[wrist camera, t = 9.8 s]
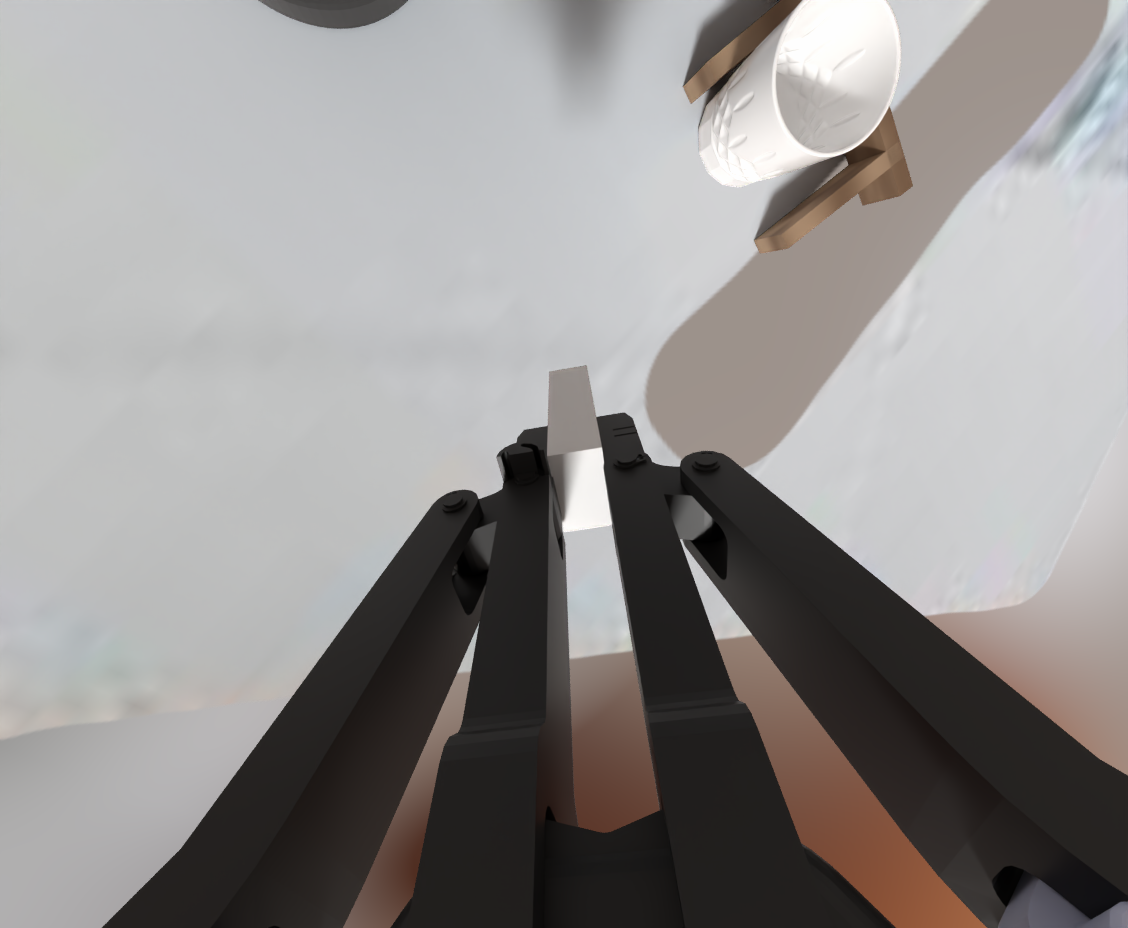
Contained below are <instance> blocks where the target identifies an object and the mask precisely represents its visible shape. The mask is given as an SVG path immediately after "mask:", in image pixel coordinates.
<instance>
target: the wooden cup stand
mask: <svg viewBox="0 0 1128 928" xmlns="http://www.w3.org/2000/svg"><path fill="white" fill-rule="evenodd" d="M801 1H802V0H781V1H779V2H778V3H777V4H776V5H775V6H773V7H772V8H771V9H770V10H769V11H768V12H766V13H765V14H764V15H763V16H762V17H760V18H759V19H758V20H757V21H756V22H754V23H753V24H752V25H751V26H750V27H748V28H747V29H746V30H745V31H744V32H742V33H741V34H740V35H739V36H738V37H736V38H735V39H734V40H733V41H732V42H730V43H729V44H728V45H727V46H726V47H724V48H723V49H722V50H721V51H720V52H718V53H717V54H716V55H715V56H714V57H712V58H711V59H710V60H709V61H708V62H707V63H706V64H705V65H704V66H703V67H702V68H701V69H700V70H699V71H698V72H697V73H696V74H695V75H694V76H693V77H692V78H691V79H690V80H689V81H688V82H687V83H686V84H685V85H684V86H683V88H684V90H685V92H686V94H687V96H688V99H689V101H690V103H691V104H692V103H693V102H694V101H695V100H696V99H698V98H699V97H700V96H701V95H702V94H704V93H705V92H706V91H707V90H708V89H710V88H711V87H712V86H713V85H714V84H716V83H717V82H718V81H719V80H720V79H722V78H723V77H724V76H725V75H726V74H728V73H729V72H730V71H731V70H733V69H734V68H735V67H736V66H737V65H739V64H740V63H741V62H742V61H743V60H745V59H746V58H747V57H748V56H749V55H751V53H752V52H753V51H754V50H755V49H756V48H757V47H758V45H759V44H760V43H761V42H762V41H763V40H764V39H765V38H766V37H767V36H768V35H769V34H770V33H771V32H772V31H773V30H774V29H775V28H776V27H777V26H778V25H779V24H780V23H781V22H782V21H783V20H784V19H785V18H786V17H787V16H788V15H789V14H790V13H791V12H792V10H793V9H794V8H795V7H796V6H797V5H798V4H799V3H800V2H801ZM845 156H846V159H847V162H848V166H847V167H846V168H845V169H843V170H842V171H841V172H840V173H838V174H837V175H836V176H835V177H833V178H832V179H831V180H829V181H828V182H827V183H826V184H824V185H823V186H822V187H821V188H819V189H818V190H817V191H816V192H814V193H813V194H812V195H811V196H809V197H808V198H807V199H806V200H804V201H803V202H802V203H801V204H799V205H798V206H797V207H796V208H794V209H793V210H792V211H791V212H789V213H788V214H787V215H786V216H784V217H783V218H782V219H781V220H779V221H778V222H777V223H775V224H774V225H773V226H772V227H770V228H769V229H768V230H767V231H765V232H764V233H763V234H762V235H760V236H759V237H758V238H757V239H755V240H754V241H755V244H756V246H757V248H758V250H759V252H760V253H766V252H772V251H777V250H783V249H787V248H789V247H791V246H792V245H793V244H794V243H796V242H797V241H798V240H799V239H801V238H802V237H803V236H804V235H806V234H807V233H808V232H810V231H811V230H812V229H813V228H815V227H816V226H817V225H818V224H820V223H821V222H822V221H823V220H825V219H826V218H827V217H828V216H830V215H831V214H832V213H834V212H835V211H836V210H837V209H839V208H840V207H841V206H842V205H844V204H845V203H846V202H847V201H849V200H850V199H851V198H853V197H854V196H855V195H856V194H857V193H858V194H859V196H860V199H861V202H862V205H866V204H871V203H874V202H878V201H882V200H886V199H890V198H894V197H898V196H901V195H902V194H903V193H904V192H906V191H907V190H908V189H910V188H911V187H912V186H913V184H912V181H911V177H910V174H909V171H908V168H907V164H906V160H905V157H904V153H903V150H902V147H901V143H900V140H899V136H898V133H897V130H896V126H895V123H894V119H893V116H892V112H891V109H890V106H889V108H888V110H887V112H886V114H885V115H884V117H883V119H882V120H881V122H880V123H879V125H878V126H877V127H876V129H875V130H874V131H873V132H872V133H871V135H870V136H869V137H868V138H867V139H866V140H864V141H863V142H862V143H861V144H860V145H858V146H857V147H855V148H854V149H852V150H850V151H848V152H846V153H845Z"/></svg>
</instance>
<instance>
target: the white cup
mask: <svg viewBox="0 0 1128 928" xmlns="http://www.w3.org/2000/svg"><path fill="white" fill-rule="evenodd" d="M900 65H901V40H900V33H899V28H898V24H897V20H896V17H895V15H894V12H893V10H892V8H891V6H890V4H889V3H888V1H887V0H802V1H801V2H800V3H799V4H798V5H797V6H796V7H795V8H794V9H793V10H792V12H791V13H790V14H789V15H788V16H787V17H786V18H785V19H784V20H783V21H782V22H781V23H780V24H779V25H778V26H777V27H776V28H775V29H774V30H773V31H772V32H771V33H770V34H769V35H768V36H767V37H766V38H765V39H764V40H763V41H762V42H761V43H760V44H759V45H758V47H757V48H756V49H755V50H754V51H753V52H752V53H751V55H750V56H749V57H748V58H747V59H746V60H745V61H744V62H743V63H742V64H741V65H740V67H739V68H738V69H737V70H736V71H735V72H734V73H733V74H732V75H731V76H730V78H729V80H728V82H727V83H726V84H725V85H724V86H723V87H722V88H721V89H720V90H719V91H718V93H717V94H716V95H715V96H714V97H713V98H712V100H711V101H710V102H709V103H708V104H707V106H706V108H705V111H704V114H703V117H702V120H701V123H700V126H699V154H700V156H701V159H702V161H703V163H704V165H705V168H706V170H707V172H708V173H709V174H710V175H711V176H712V177H713V178H714V179H716V180H717V181H718V182H719V183H720V184H722V185H726V186H733V187H743V186H745V185H748V184H751V183H753V182H756V181H760V180H767V179H770V178H774V177H777V176H780V175H783V174H786V173H790V172H793V171H796V170H799V169H801V168H804V167H807V166H810V165H812V164H815V163H818V162H821V161H824V160H827V159H830V158H832V157H835V156H838V155H841V154H844V153H846V152H848V151H850V150H852V149H854V148H855V147H857V146H858V145H860V144H861V143H862V142H863V141H864V140H866V139H867V138H868V137H869V136H870V135H871V133H872V132H873V131H874V130H875V129H876V127H877V126H878V125H879V123H880V122H881V120H882V119H883V117H884V115H885V114H886V112H887V110H888V108H889V106H890V103H891V101H892V98H893V96H894V93H895V90H896V86H897V83H898V78H899V73H900Z"/></svg>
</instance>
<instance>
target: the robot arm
mask: <svg viewBox="0 0 1128 928" xmlns="http://www.w3.org/2000/svg"><path fill="white" fill-rule="evenodd" d="M259 1H261V2H262V3H264V4H265V5H267V6H269V7H270V8H272V9H274V10H275V11H277V12H279V13H281V14H283V15H285V16H288V17H290V18H292V19H295V20H297V21H300V22H303V23H307V24H310V25H314V26H319V27H325V28H337V29H342V28H355V27H360V26H365V25H368V24H372V23H375V22H377V21H379V20H381V19H384V18H385V17H387V16H389V15H391V14H392V13H394V12H395V11H396V10H398V9H399V8H400V7H401V6H403V5H404V4H405V3H406V2H407V1H408V0H259ZM496 458H497V461H498V464H499V468H500V471H501V474H502V478H503V481H504V483H503V489H502V490H500V491H498V492H497V493H494V494H492V495H490V496H487V497H484V498H481V499H478V497H477V494H476V493H474V492H473V491H470V490H458V491H453V492H450V493H447V494H446V495H444V496H442V497H441V498H439V499H438V500H437V501H436V502H435V503H434V504H433V505H432V506H431V508H430V509H429V510H428V512H427V513H426V515H425V516H424V517H423V519H422V520H421V521H420V523H419V524H418V525H417V527H416V528H415V530H414V531H413V532H412V534H411V535H410V536H409V538H408V539H407V540H406V542H405V543H404V545H403V546H402V547H401V549H400V550H399V551H398V553H397V554H396V556H395V557H394V558H393V560H392V561H391V562H390V564H389V565H388V566H387V568H386V569H385V571H384V572H383V573H382V575H381V576H380V577H379V579H378V580H377V581H376V583H375V584H374V586H373V587H372V588H371V590H370V591H369V592H368V594H367V595H366V597H365V598H364V599H363V601H362V602H361V603H360V605H359V606H358V607H357V609H356V610H355V612H354V613H353V614H352V616H351V617H350V618H349V620H348V621H347V622H346V624H345V625H344V627H343V628H342V629H341V631H340V632H339V633H338V635H337V636H336V637H335V639H334V640H333V642H332V643H331V644H330V646H329V647H328V648H327V650H326V651H325V653H324V654H323V655H322V657H321V658H320V659H319V661H318V662H317V663H316V665H315V666H314V668H313V669H312V670H311V672H310V673H309V674H308V676H307V677H306V678H305V680H304V681H303V683H302V684H301V685H300V687H299V688H298V689H297V691H296V692H295V694H294V695H293V696H292V698H291V699H290V701H289V702H288V703H287V704H286V706H285V707H284V709H283V710H282V711H281V713H280V714H279V715H278V717H277V718H276V720H275V721H274V722H273V724H272V725H271V726H270V728H269V729H268V731H267V732H266V733H265V735H264V736H263V737H262V739H261V740H260V741H259V743H258V744H257V745H256V747H255V748H254V750H253V751H252V752H251V754H250V755H249V756H248V758H247V759H246V761H245V762H244V763H243V765H242V766H241V767H240V769H239V770H238V771H237V773H236V775H235V776H234V777H233V778H232V780H231V781H230V782H229V784H228V785H227V787H226V788H225V789H224V791H223V792H222V793H221V795H220V796H219V797H218V799H217V800H216V801H215V803H214V804H213V806H212V807H211V808H210V810H209V811H208V812H207V814H206V815H205V817H204V818H203V819H202V821H201V822H200V823H199V825H198V826H197V827H196V829H195V830H194V832H193V833H192V834H191V836H190V837H189V838H188V840H187V841H186V842H185V844H184V845H183V847H182V848H181V849H180V850H179V851H178V852H177V853H176V854H175V855H174V856H173V857H172V858H171V859H170V860H169V861H168V862H167V863H166V864H165V865H164V866H163V867H162V868H161V869H160V870H159V871H158V872H157V873H156V874H155V875H154V876H153V877H152V878H151V879H150V880H149V881H148V882H147V883H146V884H145V885H144V886H143V887H142V888H141V889H140V890H139V891H138V892H137V893H136V894H135V895H134V896H133V897H132V898H131V899H130V900H129V901H128V902H127V903H126V904H125V905H124V906H123V907H122V908H121V909H120V910H119V911H118V912H117V913H116V914H115V915H114V916H113V917H112V918H111V919H110V920H109V921H108V922H107V923H106V924H105V925H104V926H103V927H102V928H343V926H344V924H345V922H346V920H347V918H348V916H349V914H350V912H351V909H352V908H353V906H354V903H355V901H356V899H357V897H358V895H359V893H360V891H361V889H362V887H363V884H364V882H365V880H366V878H367V876H368V874H369V871H370V869H371V867H372V864H373V862H374V860H375V858H376V855H377V853H378V851H379V849H380V846H381V844H382V842H383V839H384V837H385V835H386V833H387V830H388V828H389V826H390V824H391V821H392V819H393V817H394V814H395V812H396V810H397V807H398V805H399V803H400V801H401V799H402V796H403V794H404V792H405V790H406V787H407V785H408V783H409V780H410V778H411V776H412V774H413V771H414V769H415V767H416V765H417V762H418V760H419V758H420V755H421V753H422V751H423V749H424V746H425V744H426V742H427V740H428V737H429V735H430V733H431V730H432V728H433V726H434V724H435V721H436V719H437V717H438V714H439V712H440V710H441V707H442V705H443V703H444V701H445V699H446V696H447V694H448V692H449V689H450V687H451V685H452V683H453V680H454V678H455V676H456V674H457V671H458V669H459V667H460V665H461V662H462V660H463V658H464V655H465V653H466V651H467V649H468V646H469V644H470V642H471V640H472V637H473V635H474V633H475V630H476V628H477V626H478V624H479V628H478V634H477V640H476V646H475V652H474V658H473V663H472V669H471V675H470V682H469V687H468V693H467V698H466V704H465V710H464V716H463V721H462V725H461V728H460V730H459V732H458V733H456V734H454V735H452V736H450V737H449V738H448V740H447V742H446V744H445V746H444V748H443V752H442V756H441V760H440V763H439V768H438V773H437V778H436V783H435V788H434V793H433V798H432V803H431V808H430V813H429V818H428V824H427V829H426V833H425V839H424V843H423V848H422V853H421V859H420V864H419V869H418V873H417V878H416V883H415V888H414V894H413V897H412V898H411V899H410V901H409V902H408V903H407V905H406V906H405V908H404V909H403V910H402V912H401V913H400V915H399V916H398V918H397V919H396V921H395V922H394V923H393V925H392V926H391V928H895V927H894V925H892V924H891V923H890V922H889V921H888V920H887V919H886V918H885V917H884V916H883V915H882V914H881V913H880V912H879V911H878V910H877V909H876V908H875V907H874V906H873V905H872V904H871V903H870V902H869V901H868V900H867V899H866V898H864V896H863V895H862V894H860V892H858V891H857V890H856V889H855V888H854V887H853V886H852V885H851V884H850V883H849V882H848V881H847V880H846V879H845V878H844V877H843V876H842V875H841V874H840V873H839V872H838V871H836V870H835V869H834V868H833V867H832V866H831V865H830V864H829V863H827V862H826V861H825V860H823V859H822V858H821V857H820V856H818V855H817V854H816V853H815V852H813V851H812V850H811V849H809V848H807V847H806V846H805V845H803V844H801V842H800V839H799V837H798V834H797V831H796V829H795V826H794V824H793V821H792V818H791V816H790V813H789V810H788V808H787V805H786V802H785V800H784V797H783V795H782V792H781V789H780V786H779V784H778V781H777V778H776V776H775V773H774V770H773V768H772V765H771V762H770V760H769V757H768V755H767V752H766V749H765V747H764V744H763V741H762V739H761V736H760V733H759V731H758V728H757V726H756V723H755V721H754V719H753V717H752V714H751V712H750V710H749V709H748V707H747V706H746V704H745V703H743V702H741V701H739V700H738V698H737V697H736V694H735V692H734V690H733V687H732V684H731V681H730V679H729V676H728V673H727V670H726V668H725V665H724V662H723V659H722V656H721V653H720V651H719V648H718V645H717V642H716V640H715V637H714V634H713V631H712V628H711V626H710V623H709V620H708V617H707V614H706V612H705V609H704V606H703V603H702V600H701V598H700V595H699V592H698V589H697V586H696V584H695V581H694V578H693V575H692V572H691V570H690V567H689V564H688V561H687V558H686V556H685V553H684V550H683V547H682V544H681V542H680V539H683V542H684V545H685V547H686V548H687V549H688V551H689V552H690V553H691V555H692V556H693V557H694V559H695V560H696V561H697V563H698V564H699V565H700V566H701V568H702V569H703V570H704V572H705V573H706V574H707V576H708V577H709V578H710V580H711V581H712V582H713V584H714V585H715V586H716V587H717V589H718V590H719V591H720V593H721V594H722V595H723V597H724V598H725V599H726V601H727V602H728V603H729V605H730V606H731V607H732V609H733V610H734V611H735V612H736V614H737V615H738V616H739V618H740V619H741V620H742V622H743V623H744V624H745V626H746V627H747V628H748V630H749V631H750V632H751V633H752V635H753V636H754V637H755V639H756V640H757V641H758V643H759V644H760V645H761V646H762V648H763V649H764V650H765V652H766V653H767V654H768V656H769V657H770V658H771V660H772V661H773V662H774V664H775V665H776V666H777V668H778V669H779V670H780V672H781V673H782V674H783V675H784V677H785V678H786V679H787V681H788V682H789V683H790V685H791V686H792V687H793V689H794V690H795V691H796V693H797V694H798V695H799V696H800V698H801V699H802V700H803V702H804V703H805V704H806V706H807V707H808V708H809V710H810V711H811V712H812V713H813V715H814V716H815V718H816V719H817V720H818V721H819V723H820V724H821V725H822V727H823V728H824V729H825V730H826V732H827V733H828V735H829V736H830V737H831V739H832V740H833V741H834V742H835V744H836V745H837V746H838V748H839V749H840V750H841V752H842V753H843V754H844V756H845V757H846V758H847V760H848V761H849V762H850V764H851V765H852V766H853V767H854V769H855V770H856V771H857V773H858V774H859V775H860V776H861V778H862V779H863V781H864V782H865V783H866V784H867V786H868V787H869V788H870V790H871V791H872V792H873V794H874V795H875V796H876V797H877V799H878V800H879V802H880V803H881V804H882V806H883V807H884V808H885V809H886V811H887V812H888V813H889V815H890V816H891V817H892V819H893V820H894V821H895V822H896V824H897V825H898V826H899V828H900V829H901V830H902V832H903V833H904V834H905V836H906V837H907V838H908V839H909V841H910V842H911V843H912V844H913V845H914V847H915V848H916V849H917V850H918V852H919V853H920V854H921V855H922V856H923V858H924V859H925V860H926V861H927V863H928V864H929V865H930V866H931V867H932V869H933V870H934V871H935V872H936V874H937V875H938V876H939V877H940V878H941V879H942V880H943V881H944V883H945V884H946V885H947V886H948V887H949V888H950V889H951V890H952V891H953V892H954V893H955V894H956V895H957V896H958V898H959V899H960V900H961V901H962V902H963V903H964V904H965V905H966V906H967V907H968V908H969V909H970V910H971V911H972V913H973V914H974V915H975V916H976V917H977V918H978V919H979V920H980V921H981V922H982V923H983V924H984V925H985V926H986V927H987V928H1128V776H1127V775H1126V774H1124V773H1122V772H1121V771H1119V770H1117V769H1116V768H1114V767H1112V766H1110V765H1109V764H1107V763H1105V762H1103V761H1102V760H1100V759H1099V758H1097V757H1096V756H1095V755H1093V754H1092V753H1091V752H1090V751H1089V750H1087V749H1086V748H1085V747H1084V746H1083V745H1081V744H1080V743H1079V742H1078V741H1076V740H1075V739H1074V738H1073V737H1072V736H1070V735H1069V734H1068V733H1067V732H1065V731H1064V730H1063V729H1062V728H1060V727H1059V726H1058V725H1057V724H1055V723H1054V722H1053V721H1052V720H1051V719H1049V718H1048V717H1047V716H1046V715H1044V714H1043V713H1042V712H1041V711H1040V710H1038V709H1037V708H1036V707H1035V706H1033V705H1032V704H1031V703H1030V702H1029V701H1027V700H1026V699H1025V698H1024V697H1022V696H1021V695H1020V694H1019V693H1018V692H1016V691H1015V690H1014V689H1013V688H1011V687H1010V686H1009V685H1008V684H1006V683H1005V682H1004V681H1003V680H1002V679H1000V678H999V677H998V676H996V675H995V674H994V673H993V672H992V671H991V670H989V669H988V668H987V667H986V666H984V665H983V664H982V663H981V662H979V661H978V660H977V659H976V658H975V657H973V656H972V655H971V654H970V653H968V652H967V651H966V650H965V649H964V648H962V647H961V646H960V645H959V644H957V643H956V642H955V641H954V640H952V639H951V638H950V637H949V636H948V635H946V634H945V633H944V632H943V631H941V630H940V629H939V628H938V627H936V626H935V625H934V624H933V623H932V622H930V621H929V620H928V619H927V618H925V617H924V616H923V615H922V614H921V613H919V612H918V611H917V610H916V609H914V608H913V607H912V606H911V605H910V604H908V603H907V602H906V601H905V600H903V599H902V598H901V597H900V596H898V595H897V594H896V593H895V592H894V591H892V590H891V589H890V588H889V587H887V586H886V585H885V584H884V583H883V582H881V581H880V580H879V579H878V578H876V577H875V576H874V575H873V574H871V573H870V572H869V571H868V570H867V569H865V568H864V567H863V566H862V565H860V564H859V563H858V562H857V561H856V560H854V559H853V558H852V557H851V556H849V555H848V554H847V553H846V552H844V551H843V550H842V549H841V548H840V547H838V546H837V545H836V544H835V543H833V542H832V541H831V540H830V539H829V538H827V537H826V536H825V535H824V534H822V533H821V532H820V531H819V530H817V529H816V528H815V527H814V526H813V525H811V524H810V523H809V522H808V521H806V520H805V519H804V518H803V517H802V516H800V515H799V514H798V513H797V512H795V511H794V510H793V509H792V508H790V507H789V506H788V505H787V504H786V503H784V502H783V501H782V500H781V499H779V498H778V497H777V496H776V495H775V494H773V493H772V492H771V491H770V490H768V489H767V488H766V487H765V486H763V485H762V484H761V483H760V482H759V481H757V480H756V479H755V478H754V477H752V476H751V475H750V474H749V473H748V472H746V471H745V470H744V469H743V468H741V467H740V466H739V465H738V464H736V463H735V462H734V461H733V460H731V459H730V458H729V457H727V456H726V455H724V454H722V453H717V452H713V451H701V452H696V453H692V454H690V455H687V456H686V457H685V458H683V459H682V460H681V464H680V467H672V466H662V465H659V464H655V463H653V462H652V461H651V458H650V457H649V456H648V454H646V453H644V450H643V447H642V444H641V441H640V438H639V436H638V433H637V430H636V427H635V424H634V421H633V418H631V417H630V416H629V415H627V414H626V413H618V414H612V415H606V416H600V417H596V413H595V408H594V403H593V397H592V392H591V386H590V381H589V376H588V370H587V365H585V366H580V367H574V368H568V369H562V370H556V371H551V372H549V402H548V426H545V427H539V428H533V429H527V430H524V431H523V432H522V433H521V434H520V436H519V437H518V438H517V443H514V444H511V445H509V446H507V447H505V448H504V449H502V450H501V451H500V452H499V453H498V455H497V457H496ZM562 525H563V530H564V532H569V531H576V530H583V529H590V528H597V527H604V526H610V525H612V528H613V534H614V541H615V548H616V555H617V558H618V564H619V570H620V576H621V582H622V588H623V594H624V600H625V606H626V612H627V617H628V623H629V629H630V635H631V641H632V647H633V653H634V659H635V665H636V671H637V676H638V683H639V689H640V694H641V700H642V706H643V712H644V718H645V724H646V730H647V736H648V742H649V747H650V754H651V760H652V765H653V771H654V777H655V783H656V789H657V796H658V802H659V808H660V811H657V812H655V813H653V814H651V815H648V816H646V817H644V818H642V819H639V820H637V821H635V822H632V823H630V824H628V825H626V826H623V827H621V828H619V829H617V830H614V831H612V832H608V833H600V832H596V831H592V830H588V829H584V828H580V827H578V822H577V815H576V808H575V799H574V784H573V756H572V726H571V697H570V668H569V639H568V611H567V582H566V553H565V541H564V536H563V532H562ZM479 621H480V623H479Z"/></svg>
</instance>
